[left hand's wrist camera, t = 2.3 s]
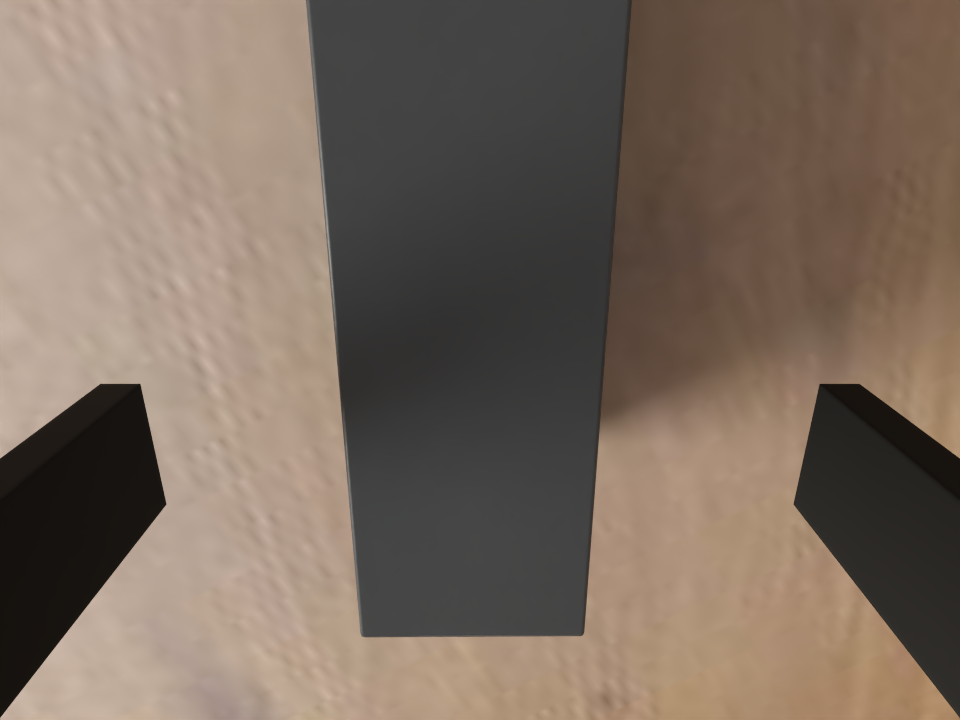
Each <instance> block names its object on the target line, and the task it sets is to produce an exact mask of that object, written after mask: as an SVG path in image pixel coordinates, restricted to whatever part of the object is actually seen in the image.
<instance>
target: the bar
mask: <svg viewBox="0 0 960 720" xmlns="http://www.w3.org/2000/svg"><path fill="white" fill-rule="evenodd" d="M631 3H632V0H306V5H307V17H308V28H309V40H310V51H311V63H312V75H313V86H314V98H315V109H316V121H317V133H318V144H319V156H320V167H321V179H322V191H323V202H324V214H325V225H326V237H327V249H328V260H329V272H330V283H331V295H332V307H333V318H334V330H335V341H336V353H337V365H338V376H339V388H340V399H341V411H342V423H343V434H344V446H345V457H346V469H347V481H348V492H349V504H350V515H351V527H352V539H353V550H354V562H355V573H356V585H357V597H358V608H359V620H360V631H361V635H362V637H491V636H582V635H583V634H584V628H585V614H586V601H587V588H588V575H589V561H590V548H591V535H592V521H593V508H594V495H595V481H596V468H597V455H598V442H599V428H600V415H601V402H602V388H603V375H604V362H605V348H606V335H607V322H608V309H609V295H610V282H611V269H612V255H613V242H614V229H615V215H616V202H617V189H618V176H619V162H620V149H621V136H622V122H623V109H624V96H625V82H626V69H627V56H628V42H629V29H630V16H631Z"/></svg>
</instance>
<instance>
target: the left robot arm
mask: <svg viewBox="0 0 960 720" xmlns="http://www.w3.org/2000/svg"><path fill="white" fill-rule="evenodd" d="M165 505H166V500H165V496H164V491H163V487H162V482H161V477H160V473H159V468H158V464H157V459H156V454H155V450H154V445H153V441H152V436H151V431H150V427H149V422H148V417H147V413H146V408H145V404H144V399H143V394H142V390H141V385H140V384H100V385H99V386H97V387H96V388H95V389H93V390H92V391H91V392H89V393H88V394H86V395H85V396H84V397H82V398H81V399H80V400H78V401H77V402H76V403H74V404H73V405H72V406H70V407H69V408H68V409H66V410H65V411H64V412H62V413H61V414H60V415H58V416H57V417H56V418H54V419H53V420H52V421H50V422H49V423H47V424H46V425H45V426H43V427H42V428H41V429H39V430H38V431H37V432H35V433H34V434H33V435H31V436H30V437H29V438H27V439H26V440H25V441H23V442H22V443H21V444H19V445H18V446H17V447H15V448H14V449H13V450H11V451H10V452H8V453H7V454H6V455H4V456H3V457H2V458H0V717H1V716H2V715H3V713H4V712H5V711H6V710H7V708H8V707H9V706H10V704H11V703H12V702H13V701H14V699H15V698H16V697H17V695H18V694H19V693H20V692H21V690H22V689H23V688H24V686H25V685H26V684H27V683H28V681H29V680H30V679H31V677H32V676H33V675H34V674H35V672H36V671H37V670H38V668H39V667H40V666H41V665H42V663H43V662H44V661H45V659H46V658H47V657H48V656H49V654H50V653H51V652H52V651H53V649H54V648H55V647H56V645H57V644H58V643H59V642H60V640H61V639H62V638H63V636H64V635H65V634H66V633H67V631H68V630H69V629H70V627H71V626H72V625H73V624H74V622H75V621H76V620H77V618H78V617H79V616H80V615H81V613H82V612H83V611H84V609H85V608H86V607H87V606H88V604H89V603H90V602H91V600H92V599H93V598H94V597H95V595H96V594H97V593H98V591H99V590H100V589H101V588H102V586H103V585H104V584H105V582H106V581H107V580H108V579H109V577H110V576H111V575H112V573H113V572H114V571H115V570H116V568H117V567H118V566H119V565H120V563H121V562H122V561H123V559H124V558H125V557H126V556H127V554H128V553H129V552H130V550H131V549H132V548H133V547H134V545H135V544H136V543H137V541H138V540H139V539H140V538H141V536H142V535H143V534H144V532H145V531H146V530H147V529H148V527H149V526H150V525H151V523H152V522H153V521H154V520H155V518H156V517H157V516H158V514H159V513H160V512H161V511H162V509H163V508H164V507H165ZM794 505H795V507H796V508H797V509H798V511H799V512H800V513H801V514H802V516H803V517H804V518H805V520H806V521H807V522H808V523H809V525H810V526H811V527H812V529H813V530H814V531H815V532H816V534H817V535H818V536H819V538H820V539H821V540H822V541H823V543H824V544H825V545H826V547H827V548H828V549H829V550H830V552H831V553H832V554H833V556H834V557H835V558H836V559H837V561H838V562H839V563H840V565H841V566H842V567H843V568H844V570H845V571H846V572H847V573H848V575H849V576H850V577H851V579H852V580H853V581H854V582H855V584H856V585H857V586H858V588H859V589H860V590H861V591H862V593H863V594H864V595H865V597H866V598H867V599H868V600H869V602H870V603H871V604H872V606H873V607H874V608H875V609H876V611H877V612H878V613H879V615H880V616H881V617H882V618H883V620H884V621H885V622H886V624H887V625H888V626H889V627H890V629H891V630H892V631H893V633H894V634H895V635H896V636H897V638H898V639H899V640H900V642H901V643H902V644H903V645H904V647H905V648H906V649H907V651H908V652H909V653H910V654H911V656H912V657H913V658H914V659H915V661H916V662H917V663H918V665H919V666H920V667H921V668H922V670H923V671H924V672H925V674H926V675H927V676H928V677H929V679H930V680H931V681H932V683H933V684H934V685H935V686H936V688H937V689H938V690H939V692H940V693H941V694H942V695H943V697H944V698H945V699H946V701H947V702H948V703H949V704H950V706H951V707H952V708H953V710H954V711H955V712H956V713H957V715H958V716H959V717H960V458H958V457H957V456H956V455H954V454H953V453H952V452H950V451H949V450H947V449H946V448H945V447H943V446H942V445H941V444H939V443H938V442H937V441H935V440H934V439H933V438H931V437H930V436H929V435H927V434H926V433H925V432H923V431H922V430H921V429H919V428H918V427H917V426H915V425H914V424H913V423H911V422H910V421H908V420H907V419H906V418H904V417H903V416H902V415H900V414H899V413H898V412H896V411H895V410H894V409H892V408H891V407H890V406H888V405H887V404H886V403H884V402H883V401H882V400H880V399H879V398H878V397H876V396H875V395H874V394H872V393H871V392H869V391H868V390H867V389H865V388H864V387H863V386H861V385H860V384H820V385H819V390H818V394H817V399H816V404H815V408H814V413H813V417H812V422H811V427H810V431H809V436H808V441H807V445H806V450H805V454H804V459H803V464H802V468H801V473H800V477H799V482H798V487H797V491H796V496H795V500H794Z"/></svg>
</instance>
